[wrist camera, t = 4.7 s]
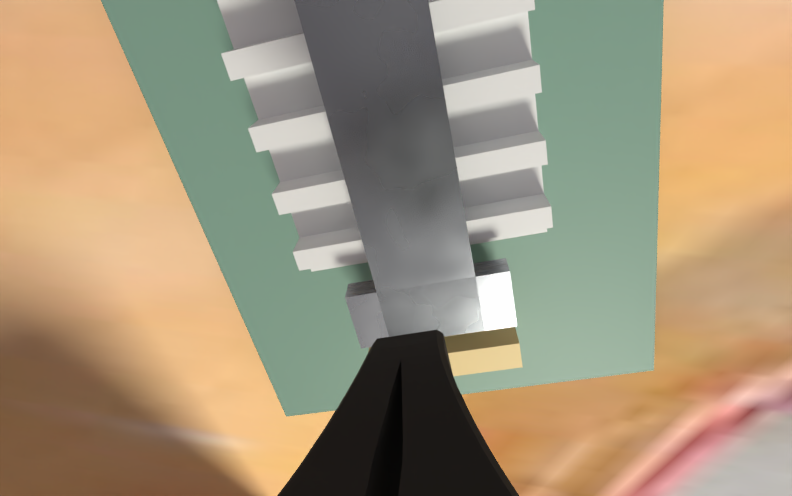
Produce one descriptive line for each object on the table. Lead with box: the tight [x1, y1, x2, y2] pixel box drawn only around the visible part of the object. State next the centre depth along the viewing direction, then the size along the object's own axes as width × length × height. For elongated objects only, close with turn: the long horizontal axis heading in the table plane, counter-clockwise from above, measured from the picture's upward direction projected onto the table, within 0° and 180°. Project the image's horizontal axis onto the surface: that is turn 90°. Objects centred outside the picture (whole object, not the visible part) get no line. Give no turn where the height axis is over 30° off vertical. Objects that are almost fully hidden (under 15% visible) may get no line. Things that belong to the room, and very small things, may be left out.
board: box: [101, 0, 664, 416], centre depth 14 cm, size 16×26×5 cm, turn 13°
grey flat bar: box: [294, 0, 517, 349], centre depth 13 cm, size 15×5×2 cm, turn 13°
